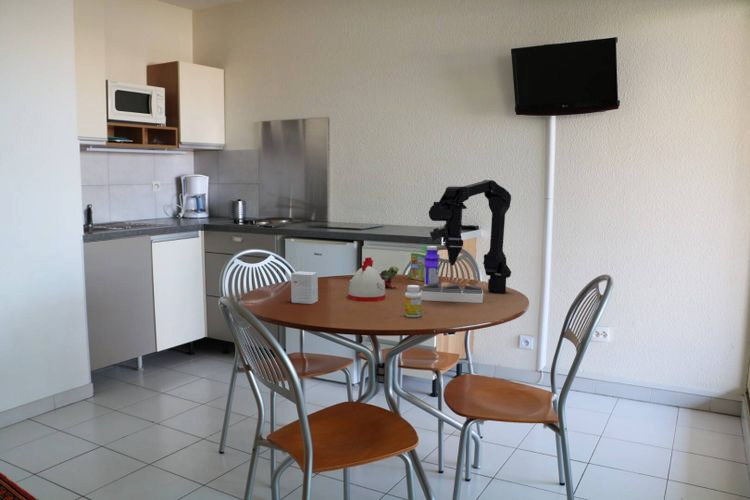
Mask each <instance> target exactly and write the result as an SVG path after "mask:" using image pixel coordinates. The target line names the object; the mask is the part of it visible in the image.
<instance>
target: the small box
mask: <svg viewBox="0 0 750 500" xmlns="http://www.w3.org/2000/svg"><path fill="white" fill-rule="evenodd" d="M318 274H319V273H318V271H317V272H316V271H299V270H298V271H294V272H291V274H290V285H291V286H290V290H291V292H290V295H291V296H290V297H291V303H293V304H303V305H304V304H306V305H313V304H314V303H315V304H316V303H317V302H318V301H319V287H318V286H319V284H318V283H319V282H318V281H319V280H318V278H319V277H318Z"/></svg>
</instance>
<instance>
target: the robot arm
mask: <svg viewBox="0 0 750 500" xmlns="http://www.w3.org/2000/svg"><path fill="white" fill-rule="evenodd" d="M480 194H484V197H485V198H486V199H487V200H488V201H487V202H488V208H489V209H490V211H491V227H490V242H489V250H488V252H487V253H485V254H484V255H483V263H482V265H483V268H484V272H485V275H486V276H489V278H488V279H487V291H488V292H489V293H495V294H506V293H507V279H509V278H510V277H511V275H512V271H511V269H510V267H509V266H508V264H507V257H506V254H505V252H504V251H503V250H504V235H505V225H506V224H505V221H506V213H507V212H508V210H509V208H510V207H511V201H512V195H511V194H510V192H509V191H508V190H507V189H506V188H504V187H503V186H501V184H498V183H497V182H496V181H495V180H493V179H489V180H488V179H484V180H482V181H479V182H475V183H471V184H468V185H464V186H463V185H461V186H455V185H454V186H453V185H452V186H447V187H446V188H445V190H444V192H443V194H442V195H441V198H440V199H439V201H433V205H431V206H430V208H429V210H428V216H429V219H430V220H431V221H433V222H444V223H445V224H444V225H443V226H444V227H442V228H438V227H436V228H433V229H432V230H431V231H429V235H430V239H431V241H433V242H434V241H436V240H439V239H441V238H442V244H443V245H444V247H445V248H446V252H447V258H448V263H450V266H454V265H455V264H456V263H457V259H458V257H459V255H460V253H461V251H462V250H463V247H464V240H463V239H462V228H463V210H467V209H468V208H467V205H465V204H464V202H466V201H468V200H469V199H470V197H473V196H476V195H480Z"/></svg>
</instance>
